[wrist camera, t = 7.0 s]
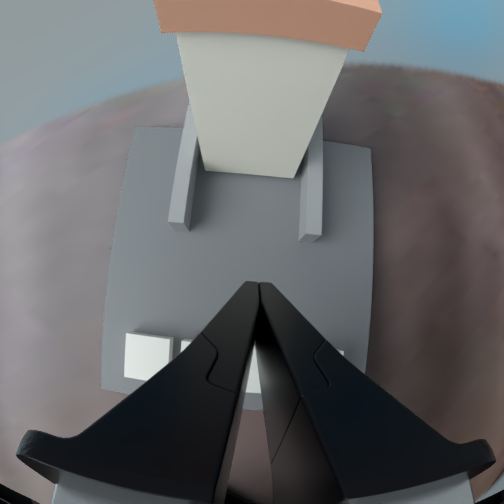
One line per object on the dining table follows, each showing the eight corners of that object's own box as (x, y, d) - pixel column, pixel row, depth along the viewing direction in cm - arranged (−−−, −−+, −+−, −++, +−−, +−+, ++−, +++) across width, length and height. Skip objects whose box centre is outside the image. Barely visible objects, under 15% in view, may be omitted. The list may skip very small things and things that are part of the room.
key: (298, 184, 18) (382, 13, 6) (199, 175, 18) (151, -9, 6) (300, 116, 19) (356, -56, 6) (210, 108, 19) (190, -72, 6)
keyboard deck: (353, 404, 18) (372, 420, 15) (108, 384, 17) (86, 396, 14) (363, 149, 20) (381, 126, 17) (141, 129, 20) (128, 104, 17)
